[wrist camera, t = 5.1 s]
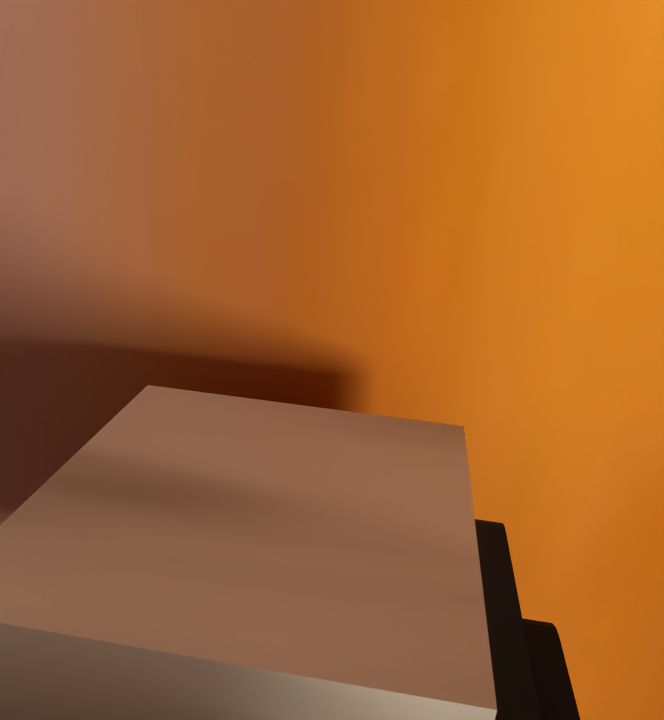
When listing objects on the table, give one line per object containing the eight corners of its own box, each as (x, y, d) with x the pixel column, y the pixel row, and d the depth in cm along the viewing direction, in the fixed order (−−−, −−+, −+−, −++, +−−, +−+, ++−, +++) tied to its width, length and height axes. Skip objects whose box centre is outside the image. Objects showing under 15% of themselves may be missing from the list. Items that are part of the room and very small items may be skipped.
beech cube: (421, 674, 11) (417, 1049, 7) (155, 628, 12) (-17, 949, 7) (463, 426, 10) (496, 710, 5) (147, 385, 10) (-88, 607, 6)
